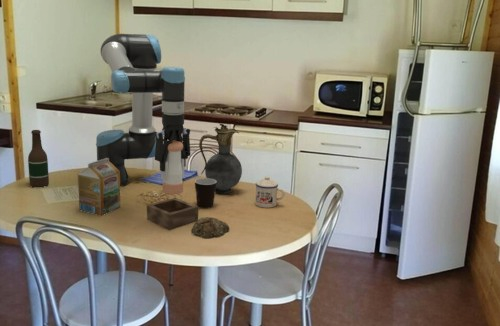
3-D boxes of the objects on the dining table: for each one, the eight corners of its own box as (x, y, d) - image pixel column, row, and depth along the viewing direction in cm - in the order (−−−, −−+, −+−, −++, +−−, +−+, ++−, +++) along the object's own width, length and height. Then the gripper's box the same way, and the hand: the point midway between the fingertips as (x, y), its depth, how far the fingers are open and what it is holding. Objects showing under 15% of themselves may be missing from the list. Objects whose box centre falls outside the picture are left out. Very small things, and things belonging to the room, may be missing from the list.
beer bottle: (36, 182, 210) (32, 128, 204) (52, 183, 210) (49, 129, 203) (25, 187, 203) (21, 131, 197) (43, 188, 202) (39, 132, 196)
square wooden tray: (147, 219, 174) (146, 205, 172) (175, 211, 183) (175, 197, 182) (169, 230, 165) (169, 215, 164) (198, 221, 175) (198, 206, 173)
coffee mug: (212, 210, 186) (213, 185, 184) (191, 207, 188) (191, 183, 185) (220, 200, 197) (221, 177, 195) (200, 198, 199) (200, 175, 196)
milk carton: (99, 202, 189) (98, 155, 184) (120, 207, 184) (119, 159, 180) (79, 210, 180) (77, 161, 175) (101, 216, 175) (99, 165, 170)
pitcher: (237, 197, 202) (239, 127, 195) (194, 192, 207) (195, 123, 199) (243, 189, 213) (246, 123, 205) (202, 185, 217) (204, 119, 209)
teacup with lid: (252, 206, 192) (253, 178, 189) (257, 199, 201) (258, 172, 198) (281, 210, 190) (283, 182, 187) (285, 203, 198) (287, 175, 195)
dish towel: (199, 176, 232) (199, 170, 231) (169, 188, 212) (169, 182, 211) (170, 170, 240) (170, 165, 239) (139, 182, 219) (139, 176, 219)
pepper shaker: (186, 192, 170) (187, 139, 165) (167, 195, 166) (167, 141, 161) (177, 187, 176) (178, 135, 171) (159, 189, 172) (159, 137, 167)
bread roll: (201, 222, 174) (202, 209, 173) (232, 229, 170) (233, 215, 168) (184, 235, 163) (184, 221, 161) (216, 242, 158) (217, 228, 157)
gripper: (156, 117, 155) (156, 185, 160) (201, 112, 169) (200, 175, 175) (142, 114, 160) (143, 180, 165) (187, 109, 174) (187, 171, 179)
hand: (172, 177), depth 170 cm, fingers closed on pepper shaker, 7 cm apart
